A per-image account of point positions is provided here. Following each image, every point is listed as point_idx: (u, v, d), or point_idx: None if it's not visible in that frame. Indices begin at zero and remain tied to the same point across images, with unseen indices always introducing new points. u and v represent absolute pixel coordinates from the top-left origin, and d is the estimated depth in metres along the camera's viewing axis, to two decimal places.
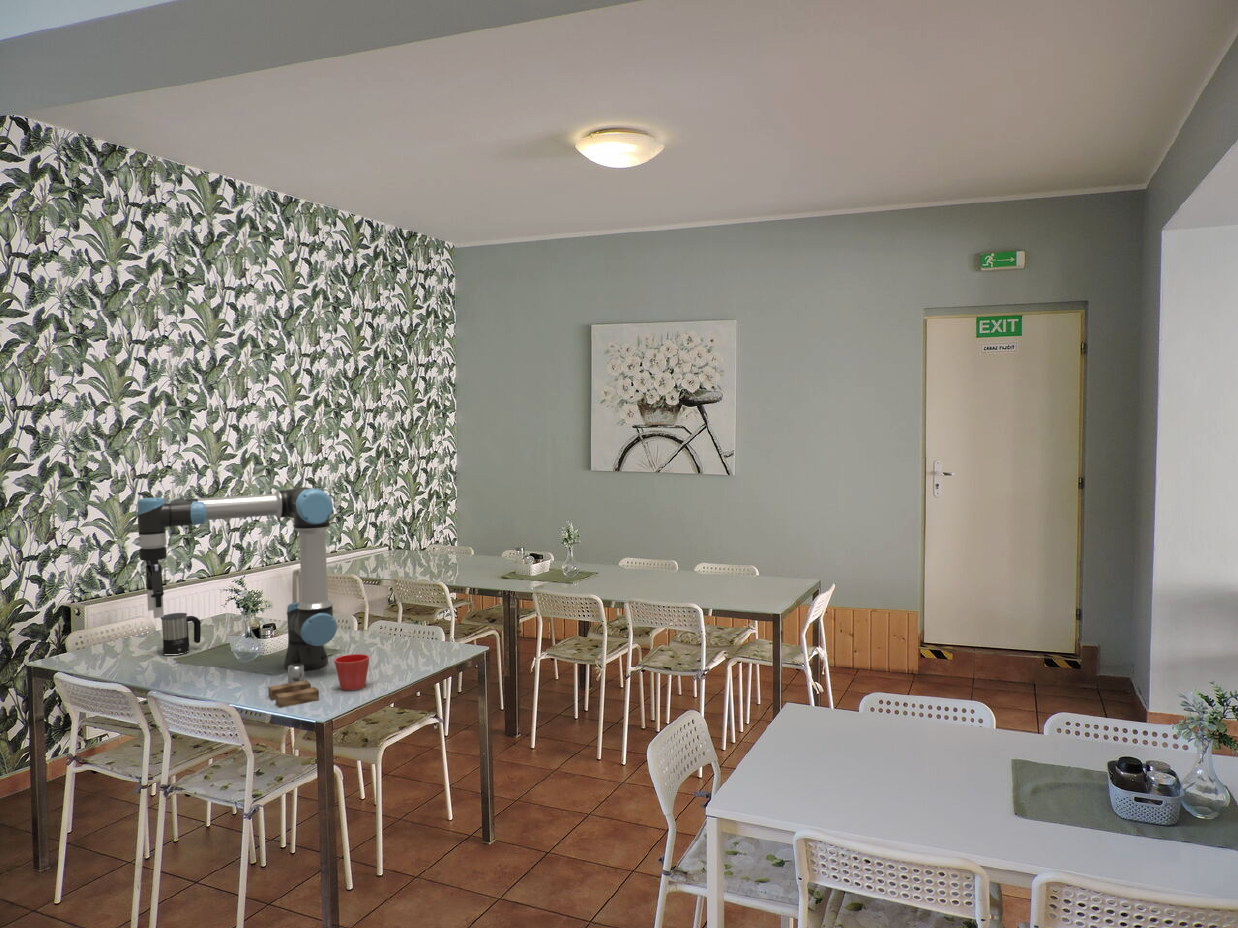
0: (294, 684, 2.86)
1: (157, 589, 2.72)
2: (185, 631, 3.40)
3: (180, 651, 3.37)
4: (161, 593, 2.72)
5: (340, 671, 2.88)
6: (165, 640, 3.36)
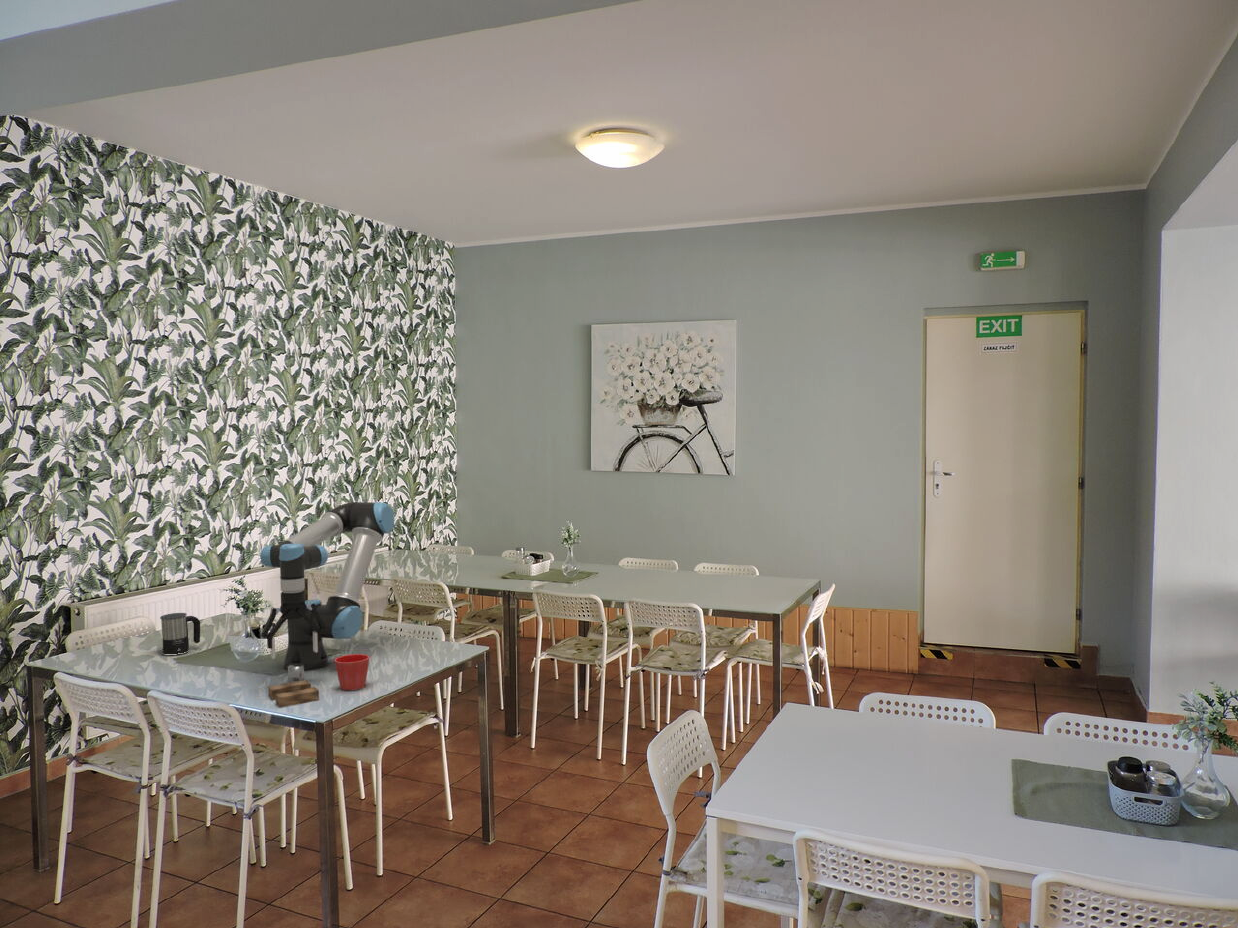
0: (294, 684, 2.86)
1: (263, 631, 2.88)
2: (185, 631, 3.40)
3: (179, 651, 3.38)
4: (262, 635, 2.87)
5: (340, 671, 2.88)
6: (165, 640, 3.37)
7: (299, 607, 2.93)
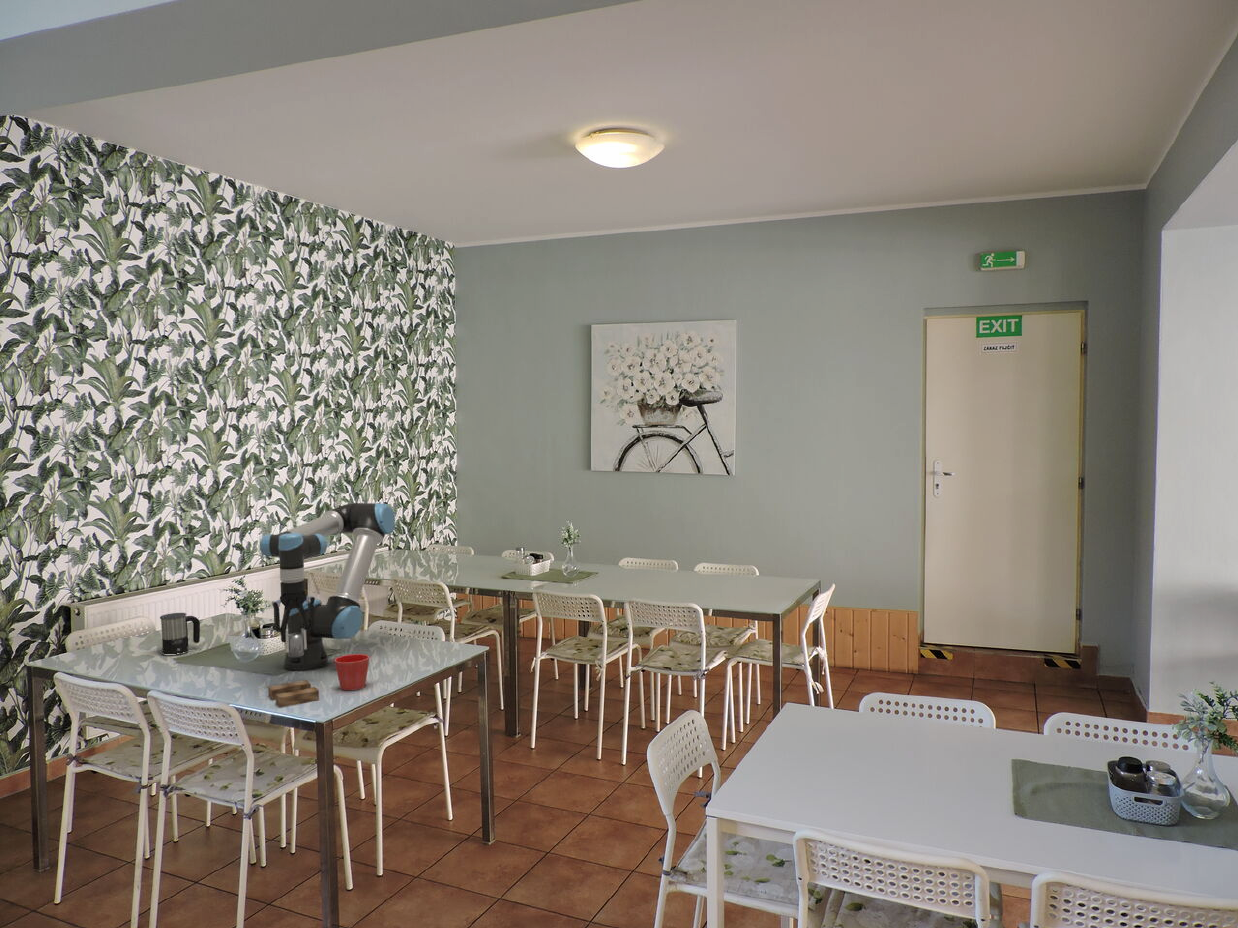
0: (294, 684, 2.86)
1: (274, 625, 2.90)
2: (184, 631, 3.40)
3: (179, 651, 3.38)
4: (276, 630, 2.89)
5: (340, 671, 2.88)
6: (164, 640, 3.37)
7: (300, 595, 2.93)
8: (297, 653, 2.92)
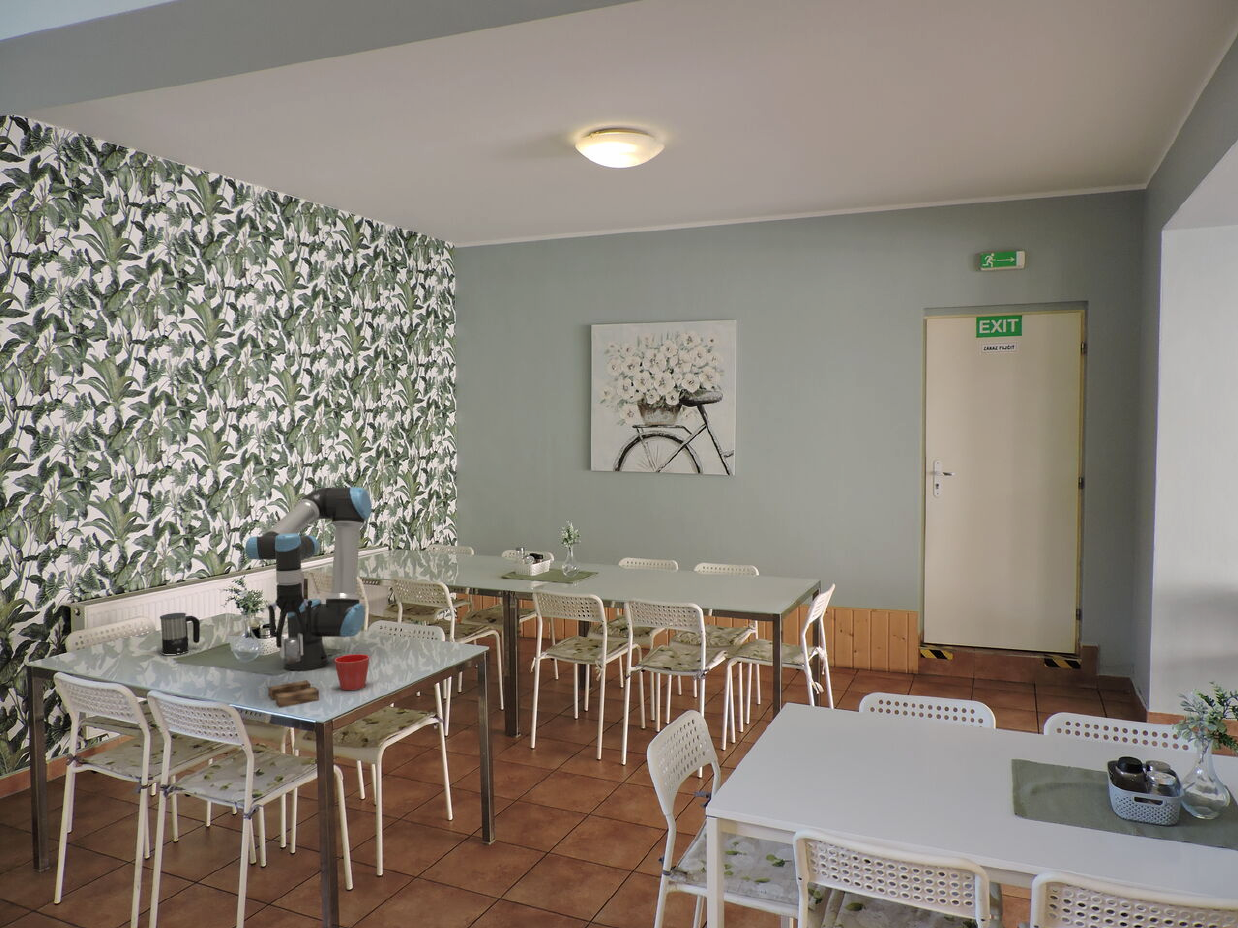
0: (294, 684, 2.86)
1: (270, 630, 2.78)
2: (184, 631, 3.40)
3: (179, 651, 3.38)
4: (271, 635, 2.77)
5: (340, 671, 2.88)
6: (164, 640, 3.37)
7: (296, 598, 2.80)
8: (293, 659, 2.79)
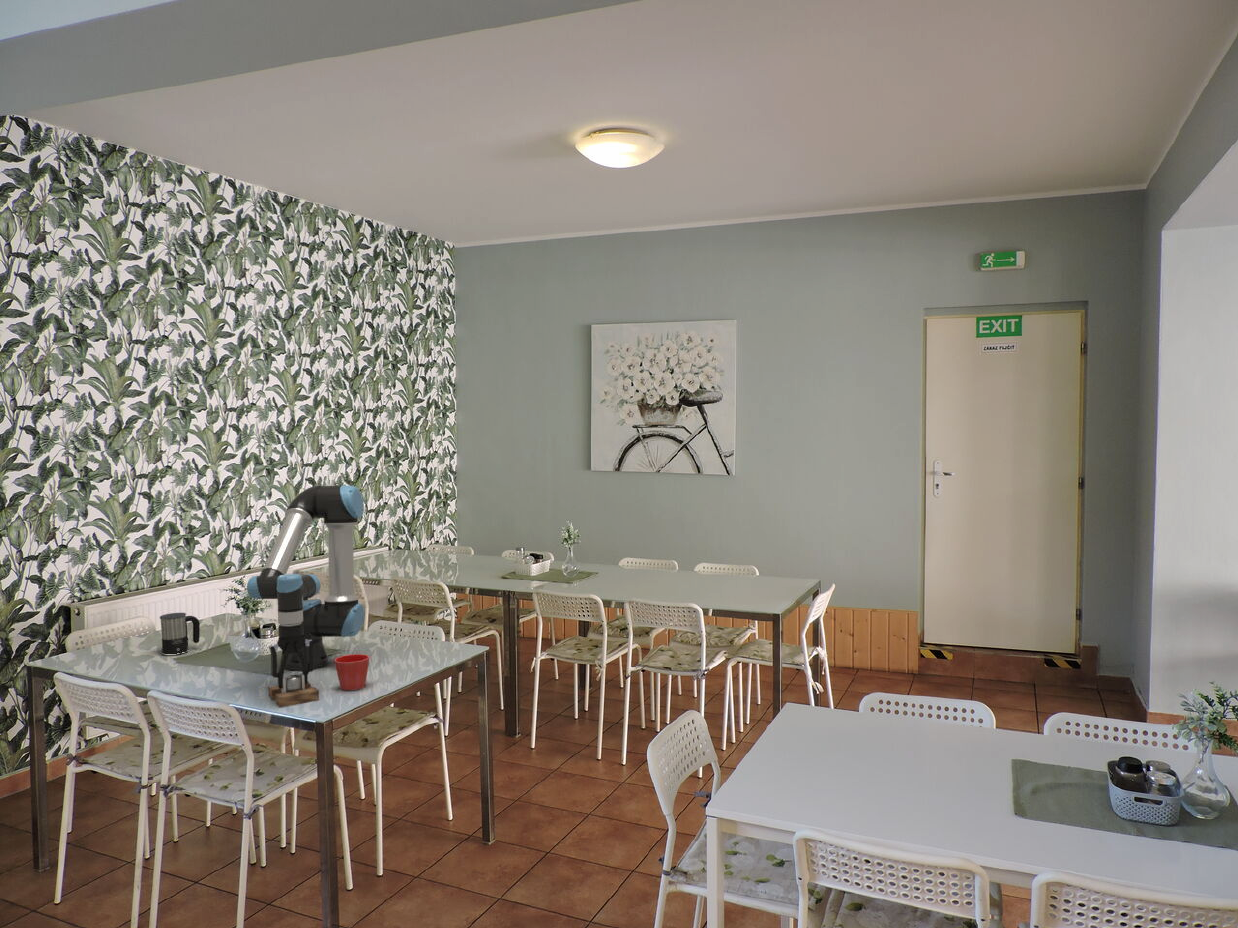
0: None
1: (271, 671, 2.78)
2: (184, 631, 3.40)
3: (179, 651, 3.38)
4: (273, 676, 2.77)
5: (340, 671, 2.88)
6: (164, 640, 3.37)
7: (298, 638, 2.81)
8: None
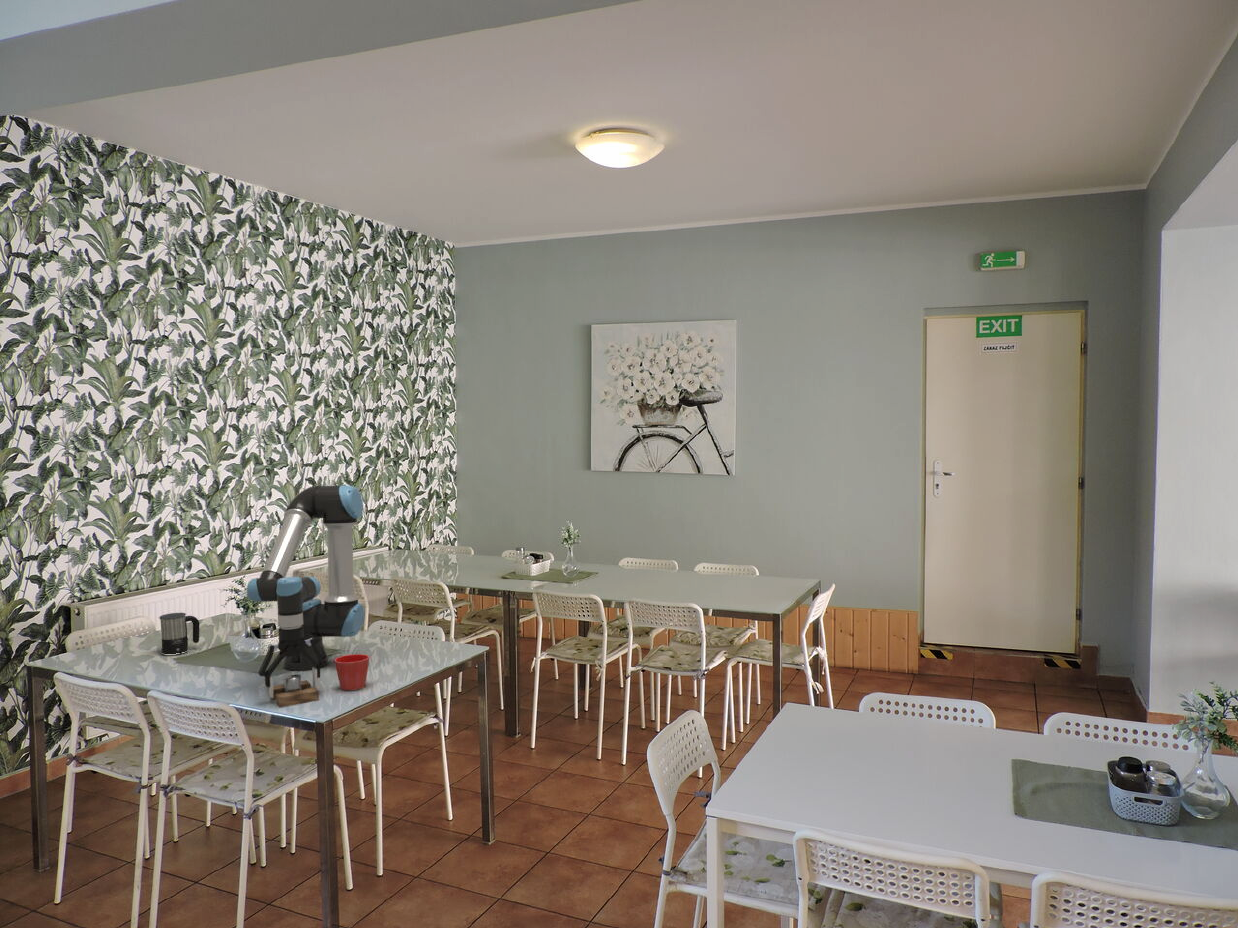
0: None
1: (260, 669, 2.76)
2: (184, 631, 3.40)
3: (178, 651, 3.38)
4: (259, 674, 2.75)
5: (340, 671, 2.88)
6: (164, 640, 3.37)
7: (298, 643, 2.81)
8: None
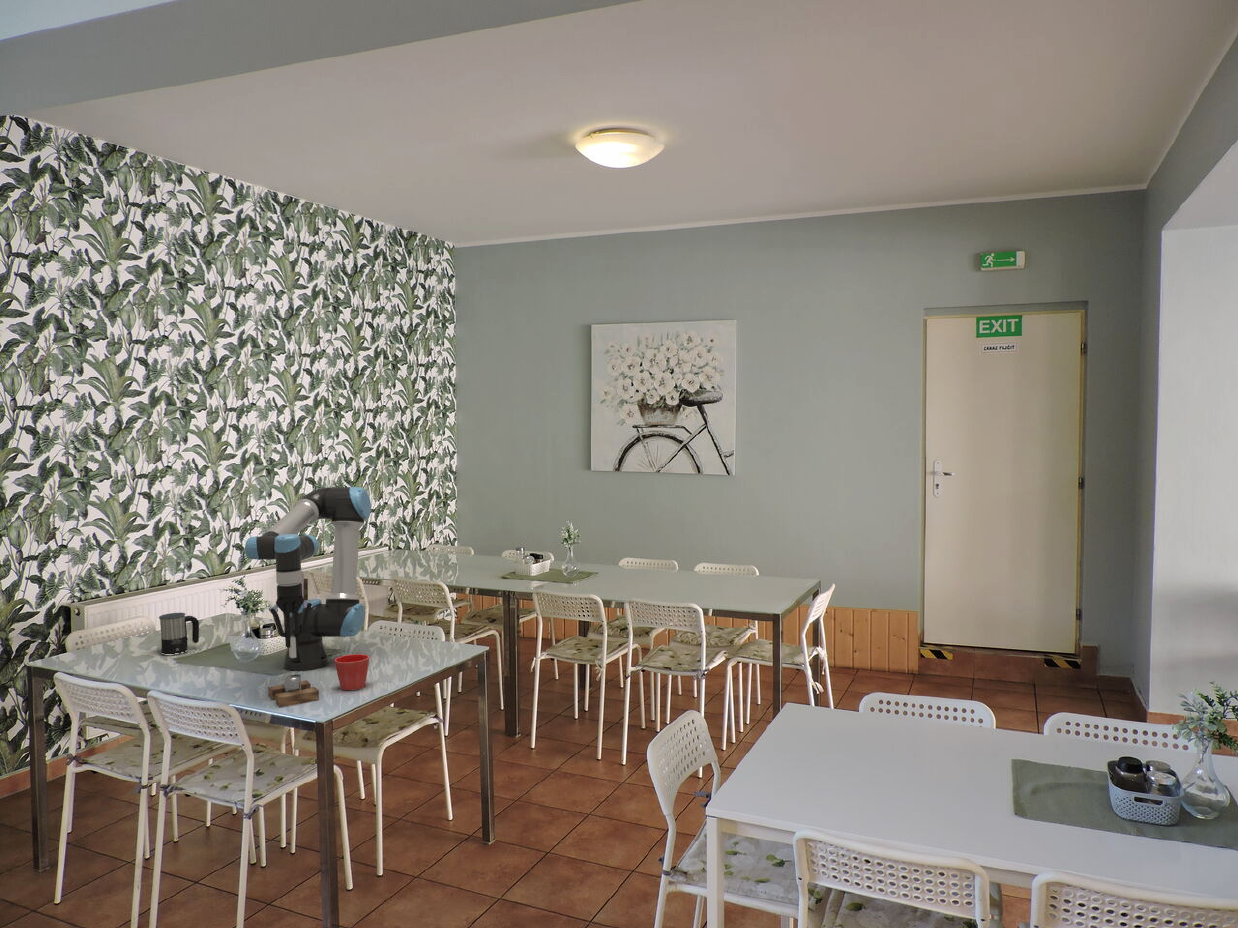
0: None
1: (278, 631, 2.79)
2: (183, 631, 3.40)
3: (178, 651, 3.38)
4: (280, 635, 2.79)
5: (340, 671, 2.88)
6: (163, 640, 3.37)
7: (297, 598, 2.81)
8: None
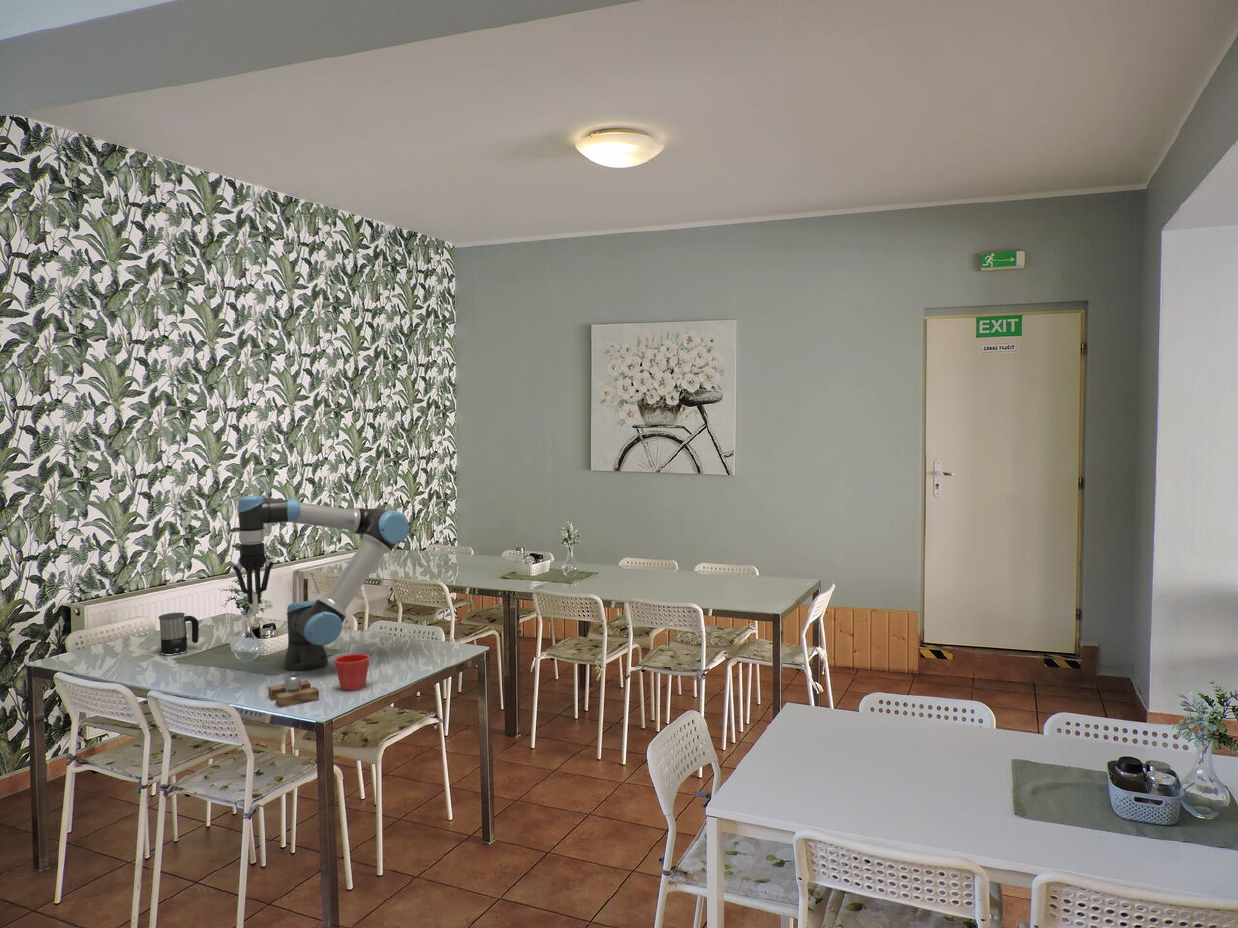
0: None
1: (241, 588, 2.93)
2: (183, 631, 3.40)
3: (177, 651, 3.38)
4: (243, 592, 2.92)
5: (340, 671, 2.88)
6: (163, 640, 3.37)
7: (260, 556, 2.95)
8: None
